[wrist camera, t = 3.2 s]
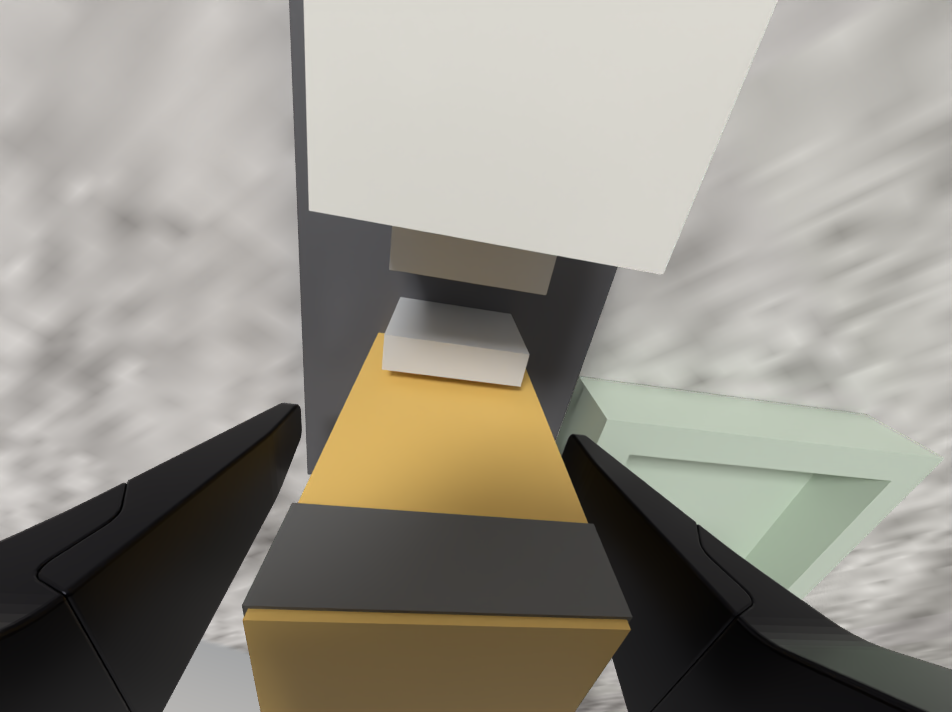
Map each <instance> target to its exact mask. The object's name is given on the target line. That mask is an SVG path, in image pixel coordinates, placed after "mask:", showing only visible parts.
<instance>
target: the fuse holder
mask: <svg viewBox="0 0 952 712" xmlns="http://www.w3.org/2000/svg"><path fill="white" fill-rule="evenodd" d="M289 9H290V35H291V60H292V86H293V111H294V137H295V163H296V188H297V214H298V239H299V265H300V290H301V316H302V341H303V367H304V392H305V418H306V444H307V469H308V474H312V472H313V470H314V468H315V466H316V464H317V462H318V459H319V457H320V455H321V453H322V451H323V449H324V447H325V445H326V443H327V440H328V438H329V436H330V434H331V432H332V430H333V428H334V426H335V423H336V421H337V419H338V417H339V415H340V413H341V411H342V409H343V407H344V404H345V402H346V400H347V398H348V396H349V394H350V392H351V390H352V387H353V385H354V383H355V381H356V379H357V377H358V375H359V373H360V371H361V368H362V366H363V364H364V362H365V360H366V358H367V356H368V354H369V352H370V349H371V347H372V345H373V343H374V341H375V339H376V337H377V335H378V333H385V334H384V346H383V359H382V370H390V371H398V372H406V373H414V374H422V375H430V376H438V377H446V378H454V379H462V380H470V381H478V382H486V383H494V384H502V385H511V386H519V387H521V383H522V380H523V376H524V373H525V369H526V370H527V373H528V375H529V378H530V380H531V383H532V385H533V388H534V390H535V393H536V395H537V397H538V400H539V402H540V405H541V407H542V410H543V412H544V415H545V417H546V420H547V422H548V425H549V427H550V430H551V432H552V435H553V437H554V440H556V438H557V435H558V432H559V429H560V426H561V424H562V421H563V418H564V415H565V412H566V410H567V407H568V404H569V401H570V398H571V396H572V393H573V390H574V387H575V384H576V382H577V379H578V376H579V373H580V371H581V368H582V365H583V362H584V359H585V357H586V354H587V351H588V348H589V345H590V343H591V340H592V337H593V334H594V331H595V329H596V326H597V323H598V320H599V318H600V315H601V312H602V309H603V306H604V304H605V301H606V298H607V295H608V292H609V290H610V287H611V284H612V281H613V278H614V276H615V273H616V270H617V266H611V265H606V264H600V263H595V262H589V261H584V260H578V259H573V258H567V257H562V256H556V255H551V254H545V253H540V252H534V251H529V250H523V249H518V248H512V247H507V246H501V245H496V244H490V243H485V242H479V241H474V240H468V239H463V238H457V237H452V236H446V235H441V234H435V233H430V232H424V231H419V230H413V229H408V228H402V227H397V226H391V225H386V224H380V223H375V222H369V221H364V220H358V219H353V218H347V217H342V216H336V215H331V214H325V213H320V212H314V211H309V194H308V155H307V116H306V77H305V38H304V0H289Z"/></svg>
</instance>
